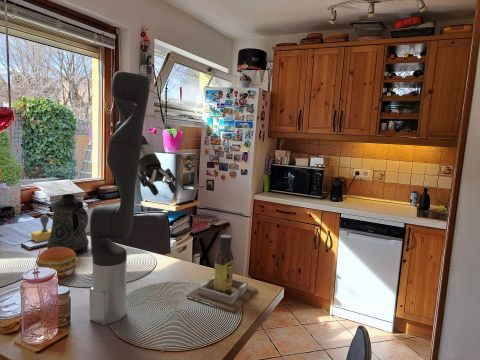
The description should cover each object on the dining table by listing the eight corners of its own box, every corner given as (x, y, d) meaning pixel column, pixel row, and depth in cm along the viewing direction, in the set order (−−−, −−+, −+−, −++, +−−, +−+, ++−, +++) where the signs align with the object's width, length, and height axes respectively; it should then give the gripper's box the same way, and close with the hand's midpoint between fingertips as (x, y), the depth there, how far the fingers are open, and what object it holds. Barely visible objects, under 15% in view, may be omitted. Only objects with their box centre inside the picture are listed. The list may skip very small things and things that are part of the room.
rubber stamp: (37, 242, 156) (36, 217, 154) (31, 239, 159) (30, 215, 157) (58, 237, 164) (58, 214, 162) (52, 235, 167) (51, 212, 165)
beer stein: (60, 242, 157) (60, 190, 154) (101, 245, 157) (101, 193, 153) (38, 255, 141) (37, 197, 137) (83, 258, 140) (83, 200, 137)
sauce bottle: (228, 297, 112) (232, 240, 110) (211, 294, 114) (214, 237, 111) (233, 288, 119) (236, 234, 116) (216, 286, 120) (219, 232, 118)
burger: (85, 271, 128) (84, 246, 127) (53, 285, 116) (53, 257, 114) (59, 264, 133) (59, 240, 132) (26, 277, 121) (26, 250, 119)
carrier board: (234, 313, 104) (234, 302, 104) (186, 298, 112) (187, 288, 112) (256, 290, 120) (257, 281, 120) (214, 278, 128) (214, 270, 128)
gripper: (135, 153, 121) (155, 189, 115) (166, 152, 132) (185, 185, 127) (126, 166, 124) (145, 201, 119) (157, 164, 136) (175, 196, 131)
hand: (165, 193), depth 123 cm, fingers open, 8 cm apart
